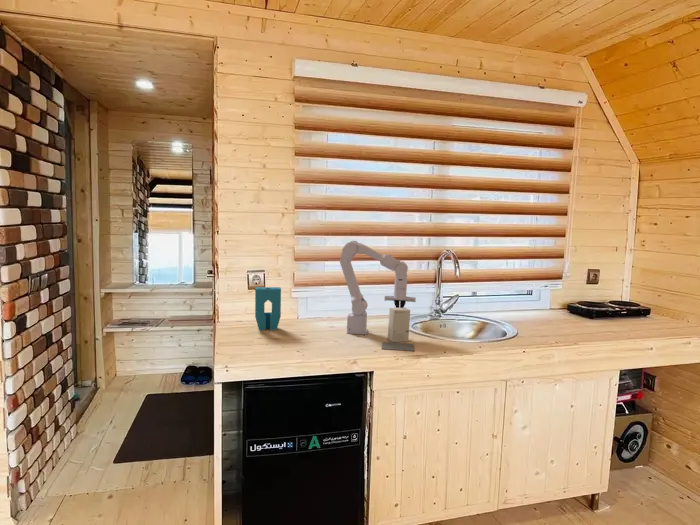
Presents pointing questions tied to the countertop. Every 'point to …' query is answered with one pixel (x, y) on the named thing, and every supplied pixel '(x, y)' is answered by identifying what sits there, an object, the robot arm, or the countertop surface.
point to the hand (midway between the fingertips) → (399, 316)
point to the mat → (398, 346)
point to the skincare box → (398, 324)
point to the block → (261, 297)
